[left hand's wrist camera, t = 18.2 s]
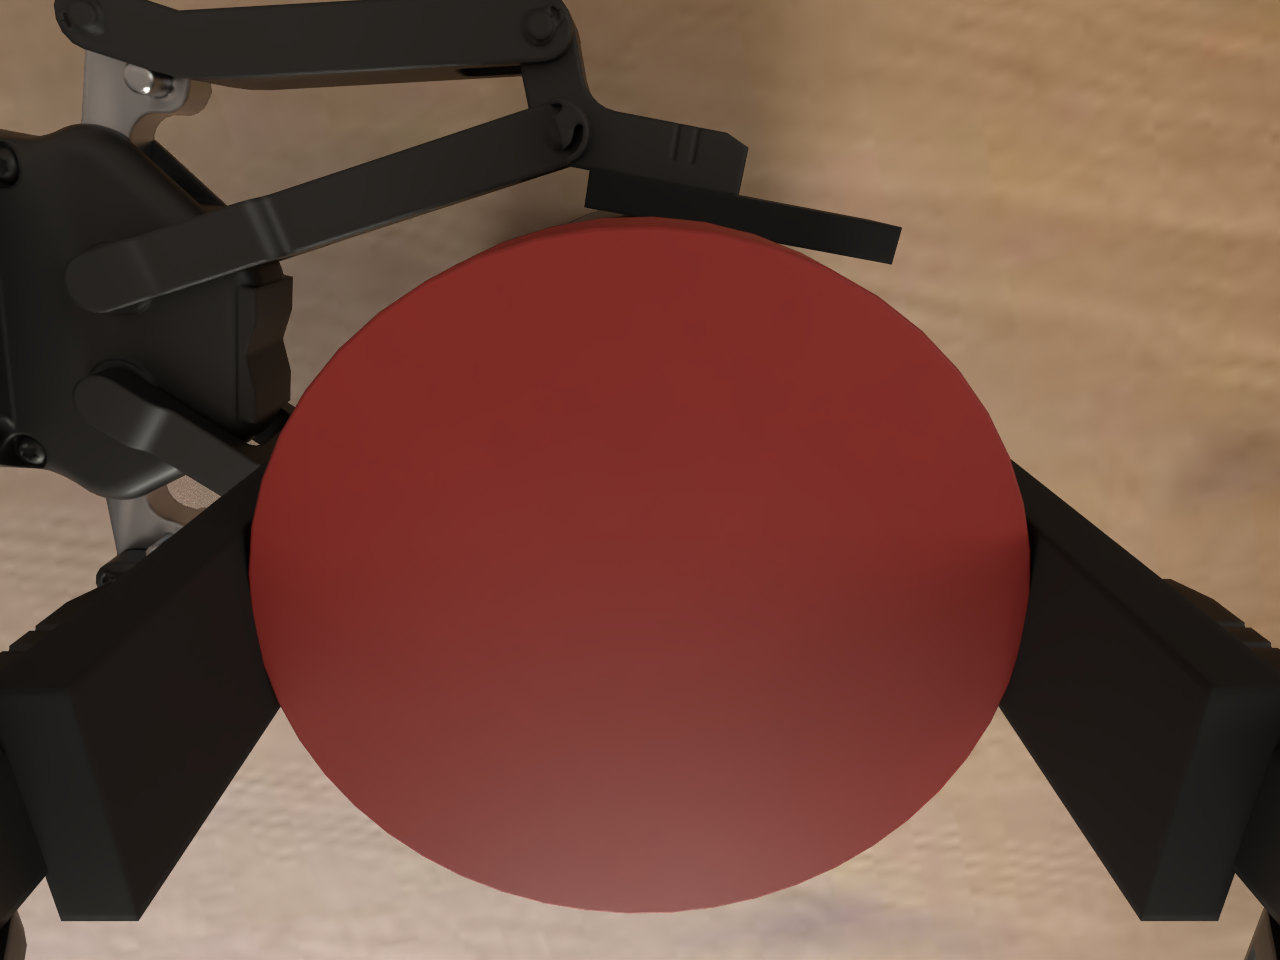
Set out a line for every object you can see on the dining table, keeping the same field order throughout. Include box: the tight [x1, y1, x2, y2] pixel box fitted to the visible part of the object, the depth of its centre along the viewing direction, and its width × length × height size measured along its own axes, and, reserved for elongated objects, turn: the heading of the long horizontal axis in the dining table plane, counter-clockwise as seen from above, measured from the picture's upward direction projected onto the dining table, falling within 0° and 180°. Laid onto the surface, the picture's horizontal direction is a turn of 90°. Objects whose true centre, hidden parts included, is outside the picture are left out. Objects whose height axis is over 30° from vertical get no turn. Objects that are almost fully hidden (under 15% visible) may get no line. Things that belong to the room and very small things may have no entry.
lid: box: [248, 217, 1030, 913], centre depth 11 cm, size 10×10×2 cm
